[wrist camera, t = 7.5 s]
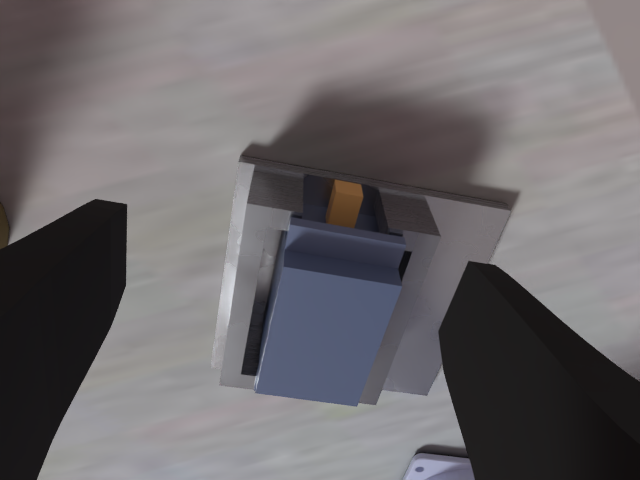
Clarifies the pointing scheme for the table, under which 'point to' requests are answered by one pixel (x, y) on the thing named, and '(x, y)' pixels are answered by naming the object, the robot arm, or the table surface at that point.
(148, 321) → the table surface
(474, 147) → the table surface
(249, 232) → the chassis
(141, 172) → the table surface
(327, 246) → the blue-grey long block
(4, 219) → the cork
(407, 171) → the table surface
